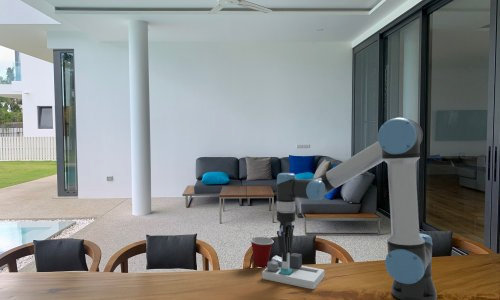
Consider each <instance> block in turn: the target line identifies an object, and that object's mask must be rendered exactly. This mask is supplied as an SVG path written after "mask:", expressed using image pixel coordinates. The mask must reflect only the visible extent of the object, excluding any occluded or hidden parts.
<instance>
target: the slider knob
mask: <svg viewBox="0 0 500 300" xmlns="http://www.w3.org/2000/svg"><path fill="white" fill-rule="evenodd" d="M301 266H303V254H302V253H297V252H296V253H295V252H291V254H290V267H291V268H296V269H299V268H300V267H301Z"/></svg>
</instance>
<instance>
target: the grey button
mask: <svg viewBox="0 0 500 300" xmlns="http://www.w3.org/2000/svg"><path fill="white" fill-rule="evenodd" d="M266 268H267V270H268V271H269V272H276V271H278V262H276V261H271V260H269V262H267V267H266Z"/></svg>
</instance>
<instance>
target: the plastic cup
mask: <svg viewBox="0 0 500 300" xmlns="http://www.w3.org/2000/svg"><path fill="white" fill-rule="evenodd" d="M249 241H250V243H251V248H252V255H253V260H254V265H255V267H256V268H262V269H263V268H267V262H269V261H270V255H271V252H272V251H271V250H272V246H273V244H274V240H273V239H272V238H270V237H265V236H253V237H251V238H250V240H249Z"/></svg>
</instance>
